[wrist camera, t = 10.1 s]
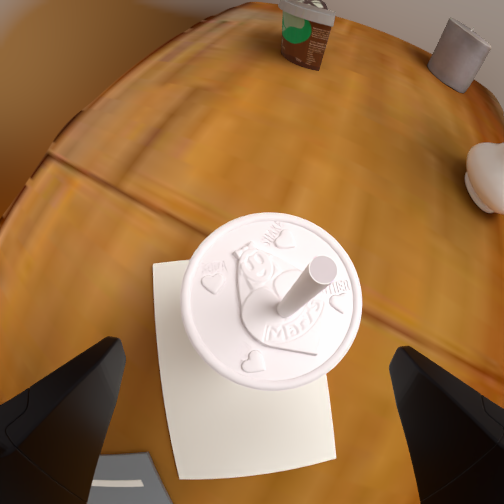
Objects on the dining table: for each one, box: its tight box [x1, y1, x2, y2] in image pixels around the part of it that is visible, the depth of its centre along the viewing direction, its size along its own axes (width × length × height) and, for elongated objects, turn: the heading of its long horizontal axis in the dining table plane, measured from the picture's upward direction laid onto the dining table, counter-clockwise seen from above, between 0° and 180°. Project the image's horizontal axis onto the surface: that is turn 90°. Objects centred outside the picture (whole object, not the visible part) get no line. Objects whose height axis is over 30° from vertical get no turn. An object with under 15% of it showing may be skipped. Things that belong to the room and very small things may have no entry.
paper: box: [153, 260, 336, 479], centre depth 17 cm, size 16×11×1 cm
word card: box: [87, 452, 173, 504], centre depth 13 cm, size 5×8×1 cm, turn 108°
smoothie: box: [180, 213, 362, 391], centre depth 11 cm, size 6×6×14 cm
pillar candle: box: [427, 18, 491, 93], centre depth 29 cm, size 10×10×15 cm
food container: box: [278, 0, 335, 71], centre depth 27 cm, size 12×6×10 cm, turn 177°
